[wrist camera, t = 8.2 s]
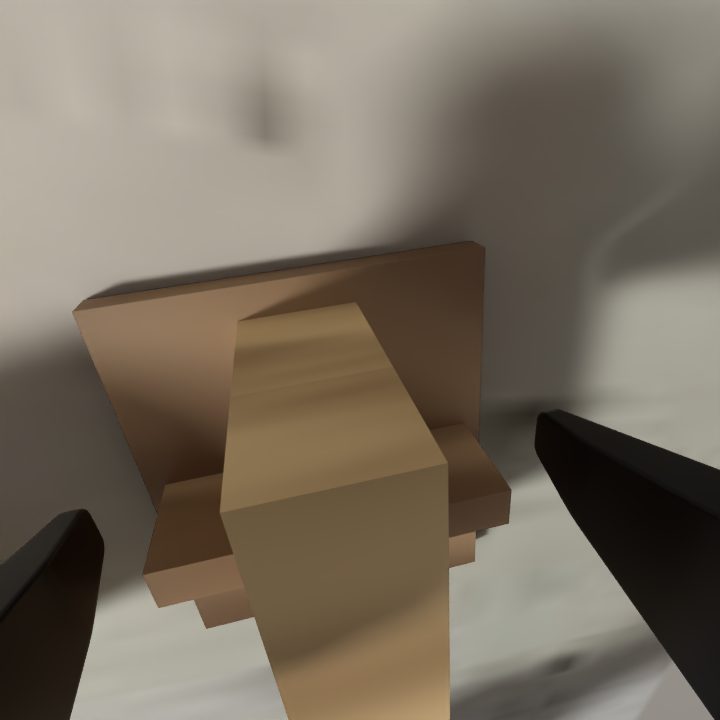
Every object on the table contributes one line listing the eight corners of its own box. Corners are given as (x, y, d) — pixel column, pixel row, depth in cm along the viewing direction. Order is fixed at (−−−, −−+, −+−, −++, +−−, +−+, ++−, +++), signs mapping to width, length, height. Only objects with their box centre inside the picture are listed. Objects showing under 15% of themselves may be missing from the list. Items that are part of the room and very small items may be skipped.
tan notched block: (384, 563, 16) (450, 789, 11) (300, 583, 16) (325, 829, 10) (356, 302, 12) (447, 462, 6) (237, 321, 11) (219, 513, 6)
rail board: (466, 544, 18) (513, 638, 15) (208, 607, 17) (196, 726, 13) (471, 240, 12) (550, 283, 9) (83, 300, 11) (10, 374, 8)
